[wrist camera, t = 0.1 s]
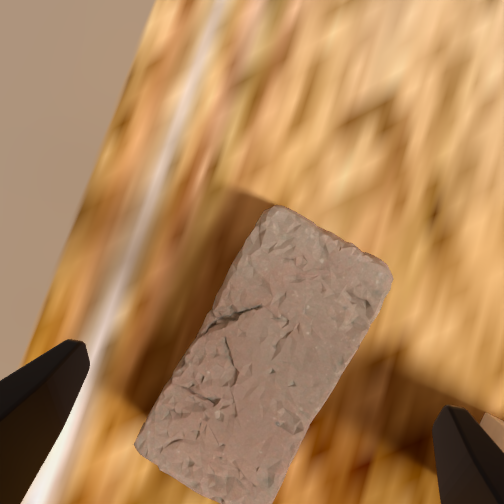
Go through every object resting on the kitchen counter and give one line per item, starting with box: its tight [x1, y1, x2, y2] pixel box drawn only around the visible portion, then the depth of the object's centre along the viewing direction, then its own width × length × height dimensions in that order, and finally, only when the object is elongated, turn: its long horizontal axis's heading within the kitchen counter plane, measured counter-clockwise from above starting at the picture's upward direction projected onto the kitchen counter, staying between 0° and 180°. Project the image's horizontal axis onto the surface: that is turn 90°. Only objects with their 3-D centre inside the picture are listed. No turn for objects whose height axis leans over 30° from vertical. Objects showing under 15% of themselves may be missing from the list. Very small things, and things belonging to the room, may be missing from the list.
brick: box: [134, 205, 393, 504], centre depth 22 cm, size 17×8×5 cm, turn 151°
